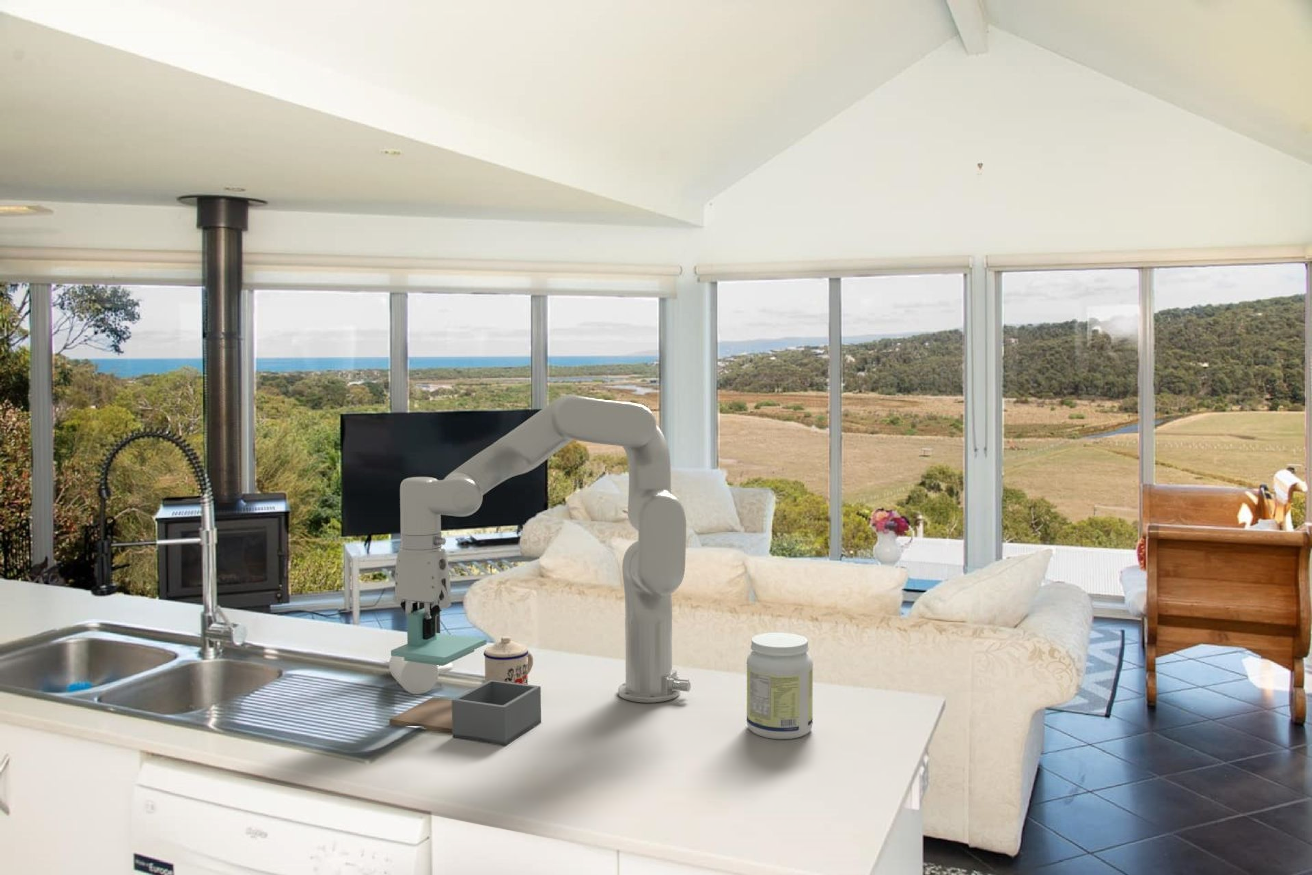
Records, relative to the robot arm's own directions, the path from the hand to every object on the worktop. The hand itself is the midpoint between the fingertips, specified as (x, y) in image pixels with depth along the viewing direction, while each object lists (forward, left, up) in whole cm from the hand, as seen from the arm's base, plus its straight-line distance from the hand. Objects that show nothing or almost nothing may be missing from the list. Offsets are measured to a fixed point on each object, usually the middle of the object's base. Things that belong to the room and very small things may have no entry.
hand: (422, 636), depth 202 cm
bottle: (+19, -27, -16) cm, 36 cm away
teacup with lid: (-8, -19, -16) cm, 26 cm away
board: (-4, 0, -15) cm, 16 cm away
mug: (+11, -15, -16) cm, 24 cm away
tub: (-18, +2, -15) cm, 24 cm away
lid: (-4, 0, -3) cm, 5 cm away
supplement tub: (-66, -18, -16) cm, 70 cm away
